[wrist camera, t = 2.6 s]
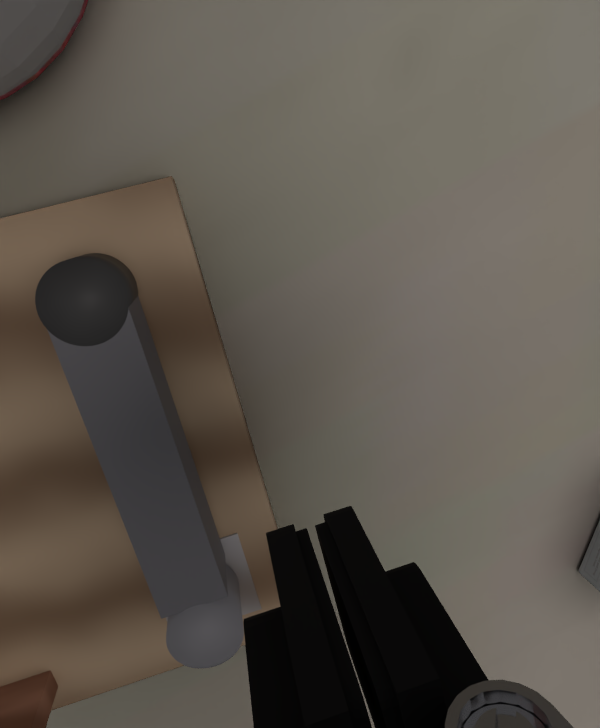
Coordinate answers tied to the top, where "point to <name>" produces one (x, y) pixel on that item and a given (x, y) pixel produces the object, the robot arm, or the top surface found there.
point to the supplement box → (592, 560)
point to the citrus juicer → (33, 38)
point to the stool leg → (143, 452)
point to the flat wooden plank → (83, 470)
